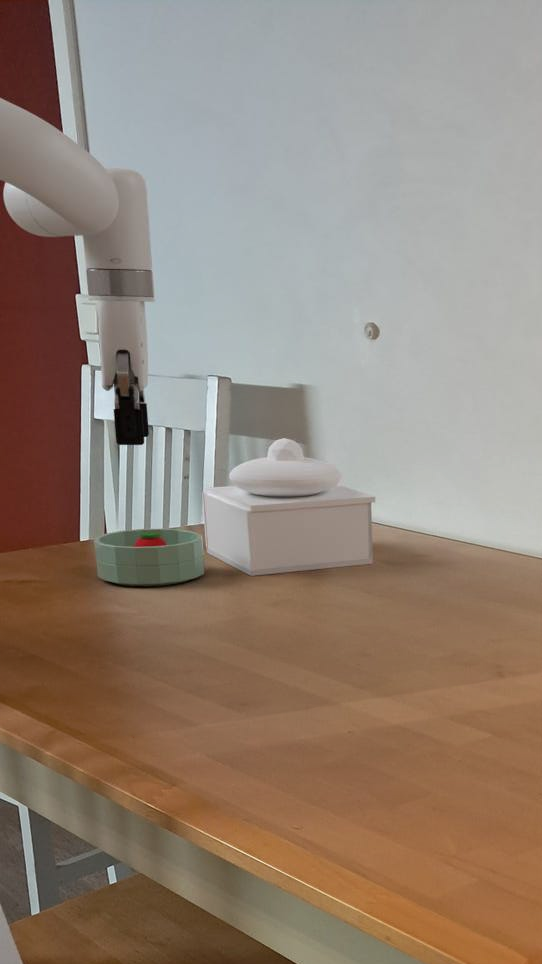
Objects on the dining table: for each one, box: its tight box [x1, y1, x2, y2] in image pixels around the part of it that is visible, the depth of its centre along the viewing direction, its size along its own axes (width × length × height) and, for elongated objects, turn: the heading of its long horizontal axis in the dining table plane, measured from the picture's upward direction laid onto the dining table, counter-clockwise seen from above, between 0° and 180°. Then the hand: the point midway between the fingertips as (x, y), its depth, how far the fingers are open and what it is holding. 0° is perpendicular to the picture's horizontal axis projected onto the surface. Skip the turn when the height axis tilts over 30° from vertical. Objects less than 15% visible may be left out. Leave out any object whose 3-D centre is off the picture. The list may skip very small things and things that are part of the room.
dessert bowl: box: [93, 528, 206, 587], centre depth 162 cm, size 13×13×5 cm
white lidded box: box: [201, 437, 376, 577], centre depth 172 cm, size 18×18×16 cm
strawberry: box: [134, 532, 167, 547], centre depth 162 cm, size 5×5×5 cm
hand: (133, 440), depth 156 cm, fingers open, 9 cm apart
